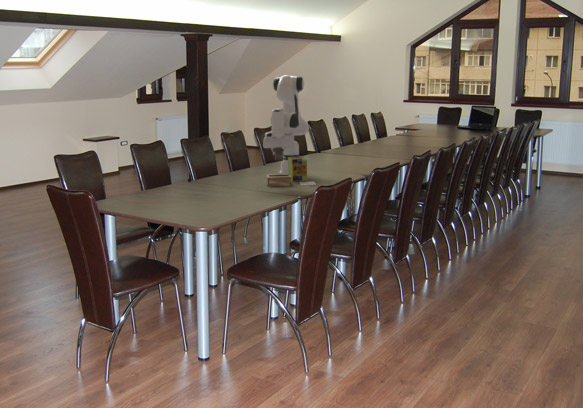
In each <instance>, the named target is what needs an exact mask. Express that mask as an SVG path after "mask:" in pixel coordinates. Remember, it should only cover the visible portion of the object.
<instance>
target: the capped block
mask: <svg viewBox="0 0 583 408" xmlns="http://www.w3.org/2000/svg"><path fill="white" fill-rule="evenodd" d="M274 152H275V155H274V160H275V161H283V155H282V152H283V148H274Z"/></svg>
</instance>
